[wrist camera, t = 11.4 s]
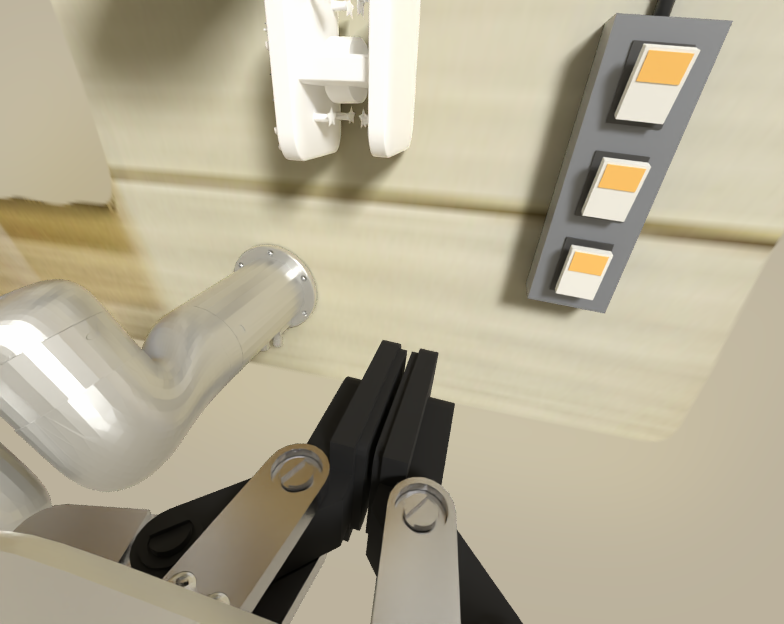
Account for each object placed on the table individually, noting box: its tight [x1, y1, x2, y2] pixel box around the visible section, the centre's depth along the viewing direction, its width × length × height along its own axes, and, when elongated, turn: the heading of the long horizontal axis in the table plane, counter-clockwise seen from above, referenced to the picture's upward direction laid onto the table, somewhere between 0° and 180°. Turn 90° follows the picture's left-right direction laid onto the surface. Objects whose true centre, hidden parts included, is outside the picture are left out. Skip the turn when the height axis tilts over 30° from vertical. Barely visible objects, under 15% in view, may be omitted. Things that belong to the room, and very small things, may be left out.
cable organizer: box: [264, 0, 421, 161], centre depth 34 cm, size 15×11×12 cm
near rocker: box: [614, 43, 701, 124], centre depth 29 cm, size 5×4×1 cm
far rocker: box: [555, 245, 613, 300], centre depth 37 cm, size 5×4×1 cm
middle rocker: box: [581, 157, 651, 222], centre depth 33 cm, size 5×4×1 cm
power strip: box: [526, 0, 733, 313], centre depth 34 cm, size 34×8×5 cm, turn 174°
